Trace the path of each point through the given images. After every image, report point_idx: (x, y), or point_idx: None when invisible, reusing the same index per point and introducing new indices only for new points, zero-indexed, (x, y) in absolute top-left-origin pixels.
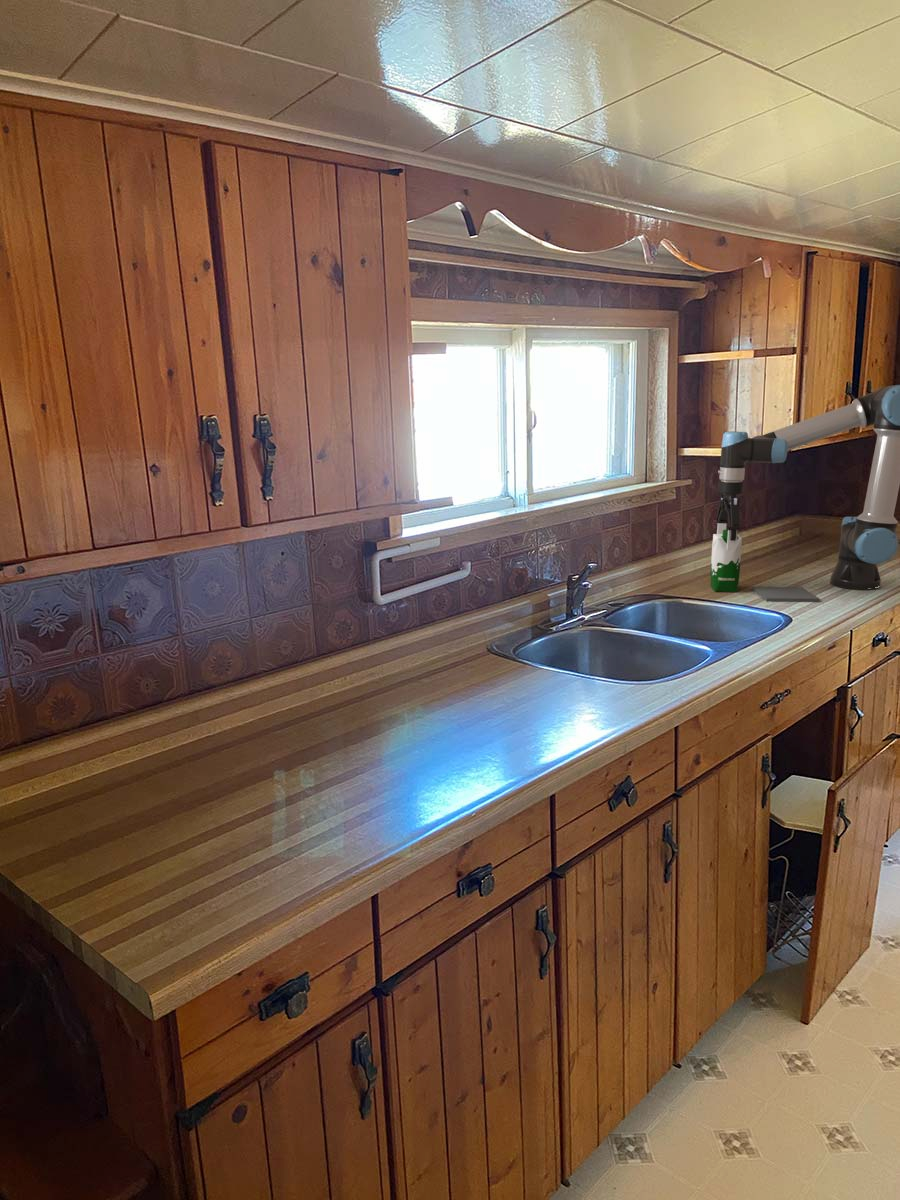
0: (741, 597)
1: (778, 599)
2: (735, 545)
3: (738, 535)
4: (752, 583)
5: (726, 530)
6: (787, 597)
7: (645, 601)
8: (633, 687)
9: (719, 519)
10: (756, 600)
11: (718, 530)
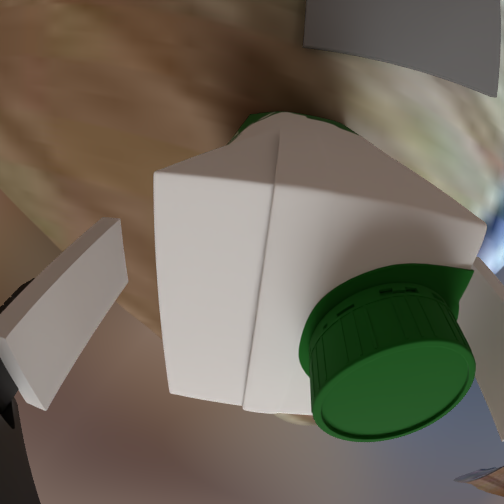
0: (428, 150)
1: (497, 57)
2: (497, 285)
3: (326, 203)
4: (171, 8)
5: (364, 417)
6: (488, 19)
7: None
8: None
9: (22, 445)
10: (473, 120)
11: (77, 350)
